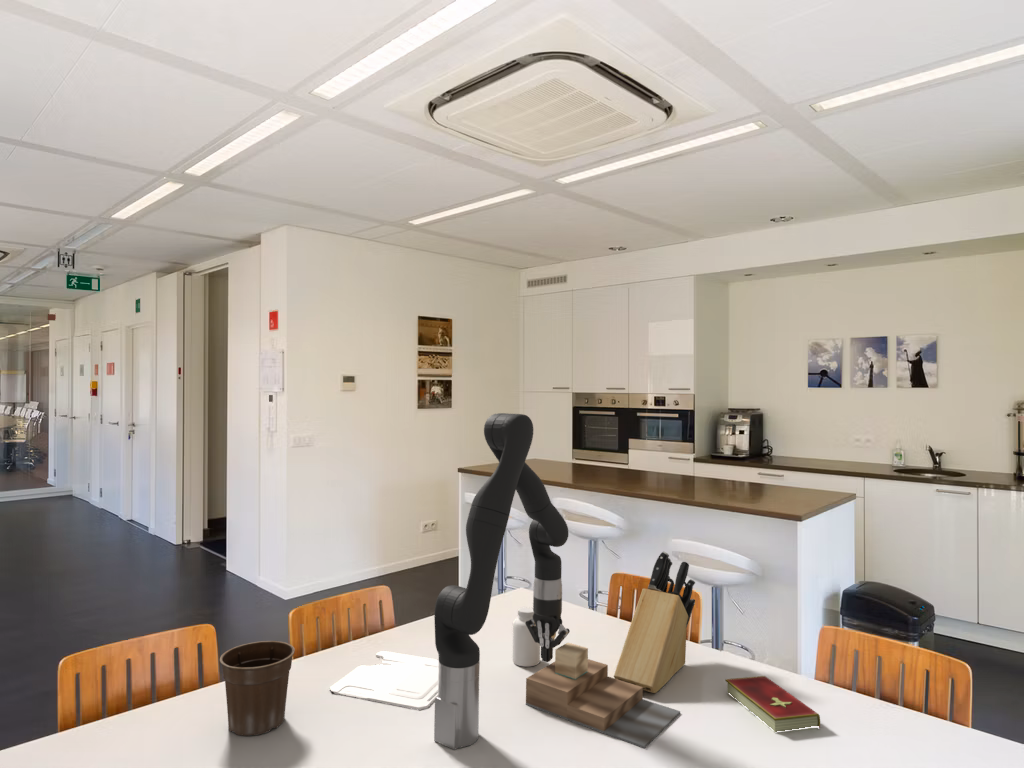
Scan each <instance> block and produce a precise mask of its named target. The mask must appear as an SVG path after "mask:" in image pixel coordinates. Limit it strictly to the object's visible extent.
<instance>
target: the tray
mask: <svg viewBox="0 0 1024 768" xmlns="http://www.w3.org/2000/svg"><path fill="white" fill-rule="evenodd" d="M375 657H376V658H379V657H381V658H380V659H382V661H381V662H382V663H386V664H391V665H383V664H380V663H381V662H380V663H378V664H374V665H364V664H361V665H358V666H356V667H355V668H354V669H353V670H351V671H350V672H348V673H347V674H346V675H344V676H343V677H342V678H341V679H338V681H336V682H335V683H333V684H332V685H331V686H329V688H328V689H330V690H331V691H330V690H329V691H330V692H332V693H335V694H334V695H338V694H340V696H343V695H346V697H349V696H350V698H354V697H356V698H355V699H359V698H361V699H360V700H364V699H366V701H369V700H370V701H371V702H375V701H376V702H375V703H380V702H382V703H381V704H385V703H387V704H386V705H390V704H392V705H391V706H396V705H397V706H396V707H401V708H402V707H403V708H406V709H407V708H408V709H411V708H412V710H417V709H418V710H417V711H420V710H424V708H425V709H428V708H429V707H430V706H431V705H432V704H434V702H435V698H436V697H438V671H439V658H438V659H436V658H432V657H431V658H430V657H427V656H426V657H424V656H419V655H412V654H407V653H400V652H394V651H388V650H387V651H386V650H382V651H378V652H377V653H375ZM379 664H380V665H379ZM433 701H434V702H433ZM430 704H431V705H430ZM429 705H430V706H429ZM419 709H420V710H419Z"/></svg>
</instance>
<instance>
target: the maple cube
mask: <svg viewBox="0 0 1024 768" xmlns="http://www.w3.org/2000/svg"><path fill="white" fill-rule="evenodd" d="M554 656H555V660H554V662H555V673H556V674H559V675H562V676H565V677H568V678H571V679H575V680H576V679H577V678H579V677H580V676H582V675H583V674H585V673H586V672H588V659H589V648H588V647H586V646H581V645H578V644H575V643H572V642H566V643H564V644H563V645H561V646H559V647H557V648H556V649H555V655H554Z"/></svg>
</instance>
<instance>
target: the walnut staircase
mask: <svg viewBox="0 0 1024 768" xmlns="http://www.w3.org/2000/svg"><path fill="white" fill-rule="evenodd" d="M608 667H609V665H608V664H606V663H603V662H599V661H597V660H592V659H590V658H588V672H586V673H585V674H583V675H582V676H580V677H579V678H577V679H576V680H575V679H571V678H568V677H565V676H562V675H559V674H556V673H555V661H554V662H551V663H550V664H548V665H546V666H545V667H544V668H541V669H539V670H538V671H536V672H534V673H533V674H531V675H529V676H528V677H526V679H525V680H526V681H525V705H526V706H529V707H531V708H535V709H536V710H539V711H542V712H545V713H547V714H550V715H553V716H556V717H558V718H561V719H564V720H566V721H569V722H571V723H575V724H576V725H580V726H583V727H585V728H589V729H591V730H593V731H597V732H599V733H602V734H604V735H608V736H610V737H613V738H616V739H618V740H621V741H624V742H626V743H629V744H631V745H634V746H637V747H639V748H643V749H645V748H647V746H648V745H649V744H651V742H653V741H654V740H655V739H656V738H657V736H658V735H660V733H662V732H663V730H665V729H666V727H668V726H669V725H670V724H671V723H672V722H673V721H674V720H675V719H676V718H677V717H678V716H679V715H680V714H681V711H680V710H677V709H674V708H671V707H669V706H666V705H662V704H659V703H656V702H652V701H649V700H646V699H643V697H644V696H643V692H644V690H643V687H640V686H637V685H634V684H631V683H627V682H624V681H621V680H618V679H615V678H614V677H610V676H608V673H609V672H608V671H609V669H608Z"/></svg>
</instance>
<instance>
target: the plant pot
mask: <svg viewBox="0 0 1024 768" xmlns="http://www.w3.org/2000/svg"><path fill="white" fill-rule="evenodd" d="M295 650H296V649H295V647H294V646H293V645H292V644H290V643H288V642H285V641H278V640H277V641H276V640H262V641H254V642H249V643H244V644H239V645H237V646H234V647H232V648H230V649H228V650H227V651H225V652H224V653H222V654H221V655H220V656H219V657H220V658H219V662H220V665H221V666H222V668H221V669H222V676H223V677H222V678H223V679H224V684H225V697H226V707H227V708H226V709H227V724H228V729H229V730H228V731H230V732H232V731H233V733H234V734H236V735H238V736H243V737H245V736H246V737H251V736H250V735H252V736H258V735H261V734H265V733H268V732H270V731H271V730H272V729H273V728H274V729H277V728H278V727H280V726H282V724H283V722H284V721H285V717H286V705H287V697H288V696H287V695H288V686H289V676H290V670H291V668H292V663H293V662H292V661H293V656H294V654H295Z"/></svg>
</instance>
